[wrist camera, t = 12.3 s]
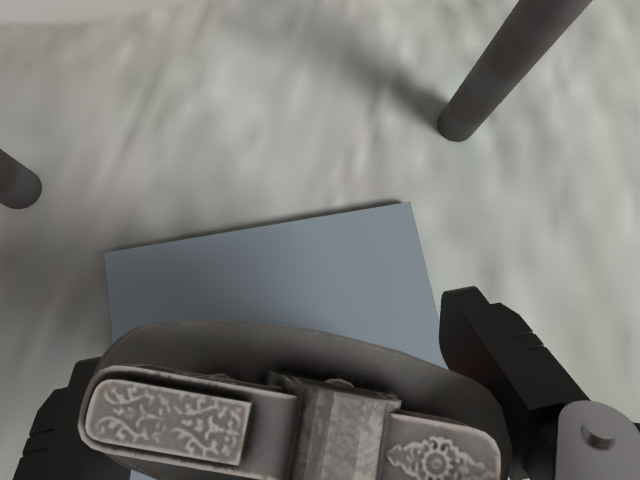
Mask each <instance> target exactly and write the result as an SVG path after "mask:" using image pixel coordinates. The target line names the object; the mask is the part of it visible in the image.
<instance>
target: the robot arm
mask: <svg viewBox="0 0 640 480" xmlns="http://www.w3.org/2000/svg"><path fill="white" fill-rule="evenodd" d="M439 346H440V350H441V354H442V357H443V359H444V361H445V363H446V365H447V367H448V369H449V370H451V371H453V372H456V373H458V374H461V375H463V376H466V377H468V378H471V379H473V380H475V381H476V382H478V383H479V384H481V385H482V386H484V387H485V388H487V389H488V390H489V391H490V392H491V393H492V395H493V396H494V397H495V399H496V400H497V401H498V403H499V404H500V405H501V407H502V410H503V414H504V418H505V422H506V426H507V429H508V433H509V437H510V441H511V445H512V461H511V466H510V470H509V475H508V476H509V478H510V480H523V479H527V478H529V479H530V480H640V423H633V422H631V421H630V420H629V419H628V418H627V417H626V416H625V415H623V414H622V413H621V412H619V411H617V410H616V409H614V408H612V407H610V406H608V405H605V404H602V403H599V402H594V401H591V400H590V399H589V398H588V397H587V396H586V395H585V393H584V392H583V391H582V390H581V389H580V387H579V386H578V385H577V384H576V383H575V381H574V380H573V379H572V378H571V377H570V375H569V374H568V373H567V372H566V370H565V369H564V368H563V367H562V366H561V364H560V363H559V362H558V361H557V360H556V358H555V357H554V356H553V355H552V354H551V352H550V351H549V350H548V349H547V348H546V347H544V345H543V343H542V342H541V340H540V339H539V338H538V337H537V336H536V334H533V331H532V330H531V328H530V327H529V326H528V325H527V323H526V322H525V321H524V320H523V319H522V317H521V316H520V315H519V314H517V313H516V312H514V311H512V310H511V309H509V308H508V307H506V306H505V305H503V304H501V303H495V304H490V303H489V302H488V301H487V299H486V298H485V297H484V296H483V294H482V293H481V292H480V290H479V289H478V288H477V287H475V286H470V287H465V288H460V289H455V290H450V291H445V292H443V294H442V299H441V311H440V325H439ZM101 357H102V356H101ZM101 357H96V358H91V359H86V360H81V361H78V362H77V363H76V364H75V366H74V369H73V372H72V375H71V379H70V382H69V385H68V387H66V388H61V389H56V390H54V391H53V392H52V394H51V395H50V396H49V397H48V399H47V400H46V401H45V402H44V404H43V405H42V406H41V408H40V409H39V410H38V411H37V414H36V417H35V420H34V422H33V425H32V428H31V431H30V433H29V435H30V438H28V439H27V442H26V444H25V447H24V450H23V457H22V458H20V461H19V464H18V466H17V469H16V472H15V475H14V477H13V480H130V475H131V469H129V468H126V467H124V466H121V465H120V464H118V463H117V462H116V461H114V460H113V459H111V458H110V457H108V456H107V455H106V454H104V453H103V452H101V451H98V450H95V449H92V448H90V447H89V446H88V445H87V444H86V443H85V442H84V441H83V440H82V439H81V436H80V433H79V429H78V421H79V414H80V408H81V405H82V401H83V398H84V394H85V392H86V390H87V387H88V385H89V383H90V381H91V379H92V377H93V375H94V372H95V370H96V368H97V365H98V363H99V361H100V359H101Z"/></svg>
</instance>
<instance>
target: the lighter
mask: <svg viewBox="0 0 640 480" xmlns="http://www.w3.org/2000/svg"><path fill="white" fill-rule="evenodd" d="M78 429H79V433H80V436H81V439H82V440H83V441H84V442H85V443H86V444H87V445H88V446H89V447H90V448H92V449H95V450H98V451H101V452H103V453H104V454H106V455H107V456H108V457H110V458H111V459H113V460H114V461H116V462H117V463H118V464H120V465H121V466H124V467H126V468H129V469H131V470H134V471H137V472H139V473H142V474H144V475H147V476H149V477H152V478H154V479H157V480H508V475H509V470H510V466H511V461H512V445H511V441H510V437H509V433H508V429H507V426H506V422H505V418H504V414H503V410H502V407H501V405H500V404H499V403H498V401H497V400H496V399H495V397H494V396H493V395H492V393H491V392H490V391H489V390H488V389H487V388H485V387H484V386H482V385H481V384H479V383H478V382H476V381H475V380H473V379H471V378H468V377H466V376H463V375H461V374H458V373H456V372H453V371H451V370H448V369H446V368H443V367H440V366H438V365H435V364H433V363H430V362H428V361H425V360H423V359H420V358H418V357H415V356H413V355H410V354H407V353H405V352H402V351H400V350H396V349H392V348H388V347H385V346H381V345H377V344H373V343H369V342H365V341H362V340H358V339H354V338H350V337H346V336H342V335H338V334H335V333H331V332H327V331H323V330H317V329H308V328H299V327H290V326H281V325H272V324H263V323H254V322H245V321H166V322H153V323H149V324H144V325H140V326H136V327H135V328H133V329H132V330H130V331H128V332H127V333H125V334H124V335H122V336H121V337H119V338H117V339H116V341H115V342H114V343H113V344H112V345H111V346H110V348H109V349H108V350H107V351H106V352H105V354H104V355H103V356H102V357H101V359H100V361H99V363H98V365H97V368H96V370H95V372H94V375H93V377H92V379H91V381H90V383H89V385H88V387H87V390H86V392H85V394H84V398H83V401H82V405H81V408H80V414H79V421H78Z"/></svg>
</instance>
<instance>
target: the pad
mask: <svg viewBox="0 0 640 480" xmlns="http://www.w3.org/2000/svg"><path fill="white" fill-rule="evenodd" d="M103 254H104V264H105V274H106V283H107V293H108V303H109V312H110V322H111V332H112V341H113V343H114V342H115V341H116V339H117V338H119V337H121V336H122V335H124V334H125V333H127V332H128V331H130V330H132V329H133V328H135V327H136V326H140V325H144V324H149V323H153V322H166V321H245V322H254V323H263V324H272V325H281V326H290V327H299V328H308V329H317V330H323V331H327V332H331V333H335V334H338V335H342V336H346V337H350V338H354V339H358V340H362V341H365V342H369V343H373V344H377V345H381V346H385V347H388V348H392V349H396V350H400V351H402V352H405V353H407V354H410V355H413V356H415V357H418V358H420V359H423V360H425V361H428V362H430V363H433V364H435V365H438V366H440V367H443V368H446V369H448V367H447V365H446V363H445V361H444V359H443V357H442V354H441V350H440V346H439V325H440V323H439V319H438V315H437V310H436V306H435V302H434V298H433V294H432V290H431V286H430V282H429V277H428V273H427V269H426V265H425V261H424V257H423V253H422V249H421V245H420V240H419V236H418V232H417V228H416V224H415V220H414V216H413V212H412V208H411V203H410V202H405V203H399V204H393V205H387V206H381V207H375V208H369V209H363V210H357V211H351V212H345V213H339V214H333V215H327V216H321V217H315V218H309V219H303V220H297V221H291V222H285V223H279V224H273V225H267V226H261V227H255V228H249V229H243V230H237V231H231V232H225V233H219V234H213V235H207V236H201V237H195V238H189V239H183V240H177V241H171V242H165V243H159V244H153V245H147V246H141V247H135V248H129V249H123V250H117V251H111V252H105V253H103ZM448 370H449V369H448ZM130 480H157V479H154V478H152V477H149V476H147V475H144V474H142V473H139V472H137V471H134V470H131V475H130Z"/></svg>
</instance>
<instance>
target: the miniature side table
mask: <svg viewBox="0 0 640 480" xmlns="http://www.w3.org/2000/svg"><path fill="white" fill-rule="evenodd" d="M591 1H592V0H519V1H518V3H517V4H516V6H515V7H514V9H513V10H512V12H511V13H510V15H509V16H508V17H507V19H506V20H505V22H504V23H503V25H502V26H501V28H500V29H499V30H498V32H497V33H496V35H495V36H494V38H493V39H492V41H491V42H490V44H489V45H488V46H487V48H486V49H485V51H484V52H483V54H482V55H481V57H480V58H479V60H478V61H477V62H476V64H475V65H474V67H473V68H472V70H471V71H470V73H469V74H468V76H467V77H466V78H465V80H464V81H463V83H462V84H461V86H460V87H459V89H458V90H457V91H456V93H455V94H454V96H453V97H452V99H451V100H450V102H449V103H448V105H447V106H446V107H445V109H444V110H443V112H442V113H441V115H440V116H439V119H438V127H439V130H440V132H441V133H442V135H443V136H444V137H445V138H447V139H449V140H451V141H455V142H461V141H464V140H467V139H468V138H469V137H470V136H471V135H472V134H473V133H474V132H475V131H476V129H477V128H478V127H479V126H480V125H481V124H482V123H483V122H484V121H485V119H486V118H487V117H488V116H489V115H490V114H491V113H492V112H493V111H494V109H495V108H496V107H497V106H498V105H499V104H500V103H501V102H502V101H503V99H504V98H505V97H506V96H507V95H508V94H509V93H510V92H511V90H512V89H513V88H514V87H515V86H516V85H517V84H518V83H519V82H520V80H521V79H522V78H523V77H524V76H525V75H526V74H527V73H528V72H529V70H530V69H531V68H532V67H533V66H534V65H535V64H536V63H537V62H538V60H539V59H540V58H541V57H542V56H543V55H544V54H545V53H546V52H547V50H548V49H549V48H550V47H551V46H552V45H553V44H554V43H555V42H556V40H557V39H558V38H559V37H560V36H561V35H562V34H563V33H564V31H565V30H566V29H567V28H568V27H569V26H570V25H571V24H572V23H573V21H574V20H575V19H576V18H577V17H578V16H579V15H580V14H581V13H582V11H583V10H584V9H585V8H586V7H587V6H588V5H589V4H590V3H591ZM41 190H42V185H41V181H40V179H39V178H38V176H37V175H36V174H34V173H33V172H32V171H30V170H29V169H27V168H26V167H25V166H23V165H22V164H20V163H19V162H18V161H16V160H15V159H14V158H12V157H11V156H9V155H8V154H7V153H5V152H4V151H2V150H1V149H0V203H2V204H4V205H6V206H8V207H10V208H13V209H22V208H26V207H29V206H30V205H32V204H33V203H35V202H36V201H37V199H38V198H39V196H40V194H41Z"/></svg>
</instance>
